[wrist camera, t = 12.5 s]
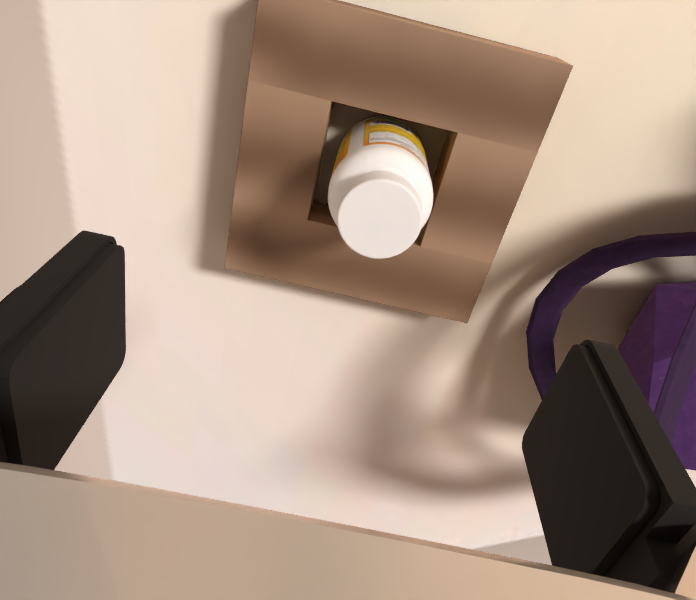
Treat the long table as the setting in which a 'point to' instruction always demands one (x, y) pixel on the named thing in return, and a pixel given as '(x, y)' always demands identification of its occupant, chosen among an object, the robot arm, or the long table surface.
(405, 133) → the supplement bottle
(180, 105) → the long table surface
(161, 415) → the long table surface
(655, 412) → the purple looped device
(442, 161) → the socket block
